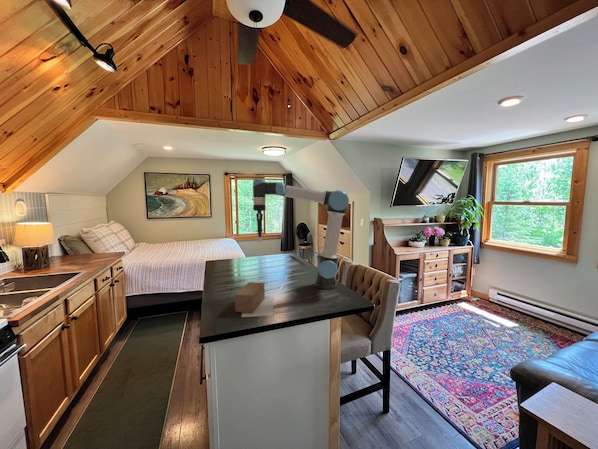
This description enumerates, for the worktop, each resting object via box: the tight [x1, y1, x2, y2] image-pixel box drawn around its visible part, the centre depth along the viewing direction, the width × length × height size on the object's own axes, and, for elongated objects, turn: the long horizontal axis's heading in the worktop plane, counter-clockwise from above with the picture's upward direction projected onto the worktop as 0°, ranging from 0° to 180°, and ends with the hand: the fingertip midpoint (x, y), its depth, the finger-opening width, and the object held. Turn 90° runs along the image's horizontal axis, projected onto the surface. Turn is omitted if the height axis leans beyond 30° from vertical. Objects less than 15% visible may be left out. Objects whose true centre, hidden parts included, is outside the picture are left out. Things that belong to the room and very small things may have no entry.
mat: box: [241, 298, 274, 318], centre depth 136 cm, size 16×21×1 cm
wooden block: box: [234, 281, 266, 313], centre depth 138 cm, size 10×10×20 cm
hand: (260, 241), depth 157 cm, fingers closed
